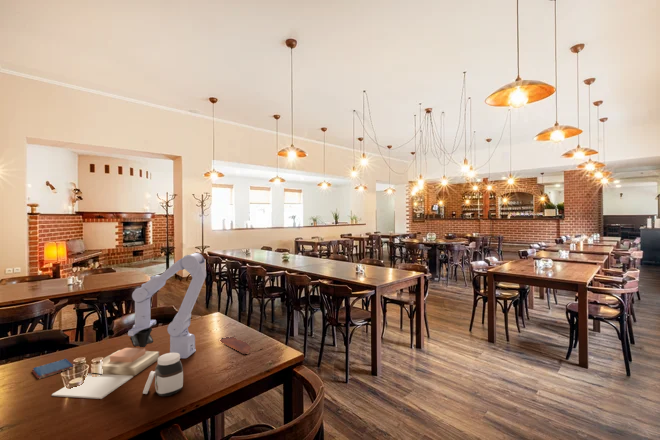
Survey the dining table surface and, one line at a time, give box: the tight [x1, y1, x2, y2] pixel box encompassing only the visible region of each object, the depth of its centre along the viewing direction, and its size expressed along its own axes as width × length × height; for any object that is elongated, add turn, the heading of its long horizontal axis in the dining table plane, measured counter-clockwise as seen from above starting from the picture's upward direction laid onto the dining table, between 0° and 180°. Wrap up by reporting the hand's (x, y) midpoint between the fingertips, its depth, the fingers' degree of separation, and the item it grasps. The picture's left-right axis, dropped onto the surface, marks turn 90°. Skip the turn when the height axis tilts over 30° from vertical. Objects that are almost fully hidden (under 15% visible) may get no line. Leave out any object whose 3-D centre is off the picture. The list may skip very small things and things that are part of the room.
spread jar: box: [142, 352, 184, 397], centre depth 105 cm, size 12×11×12 cm
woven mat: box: [31, 358, 74, 380], centre depth 120 cm, size 10×11×2 cm
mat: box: [51, 372, 134, 400], centre depth 109 cm, size 18×14×1 cm
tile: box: [110, 347, 147, 362], centre depth 125 cm, size 9×8×2 cm
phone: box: [130, 334, 154, 347], centre depth 151 cm, size 8×1×15 cm
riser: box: [102, 349, 160, 377], centre depth 124 cm, size 18×14×3 cm
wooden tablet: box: [220, 336, 252, 355], centre depth 145 cm, size 27×10×2 cm, turn 48°
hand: (142, 346), depth 133 cm, fingers closed
